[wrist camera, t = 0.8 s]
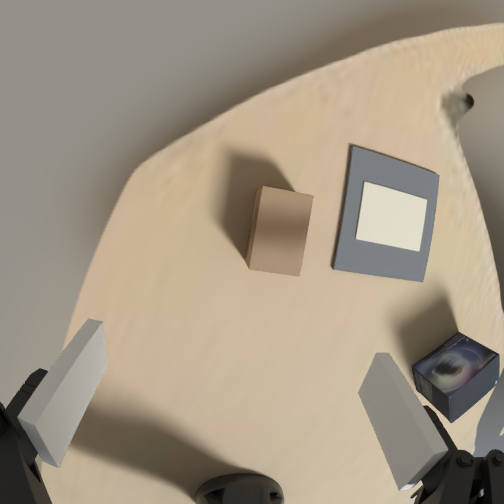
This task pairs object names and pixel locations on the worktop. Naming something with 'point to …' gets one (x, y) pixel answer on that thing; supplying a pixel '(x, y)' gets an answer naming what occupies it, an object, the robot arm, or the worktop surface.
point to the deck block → (278, 231)
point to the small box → (457, 375)
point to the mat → (386, 217)
